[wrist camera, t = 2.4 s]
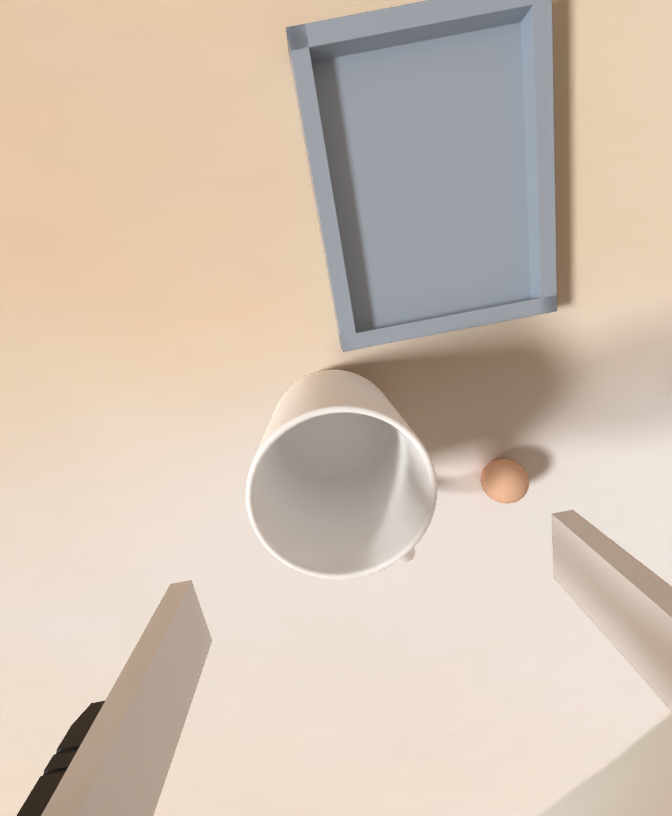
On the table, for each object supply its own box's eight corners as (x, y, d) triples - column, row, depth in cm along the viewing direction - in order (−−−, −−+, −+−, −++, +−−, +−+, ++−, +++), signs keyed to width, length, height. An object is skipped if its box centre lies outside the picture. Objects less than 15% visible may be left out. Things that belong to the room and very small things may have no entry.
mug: (345, 529, 29) (361, 652, 18) (249, 413, 26) (203, 482, 15) (436, 469, 28) (507, 564, 17) (347, 342, 25) (367, 364, 14)
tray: (288, 51, 20) (286, 27, 19) (531, 5, 20) (551, -24, 19) (341, 348, 25) (343, 351, 23) (540, 311, 25) (557, 311, 23)
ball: (472, 456, 28) (491, 474, 24) (513, 448, 28) (537, 466, 24) (475, 493, 28) (494, 515, 25) (515, 485, 28) (539, 507, 25)
